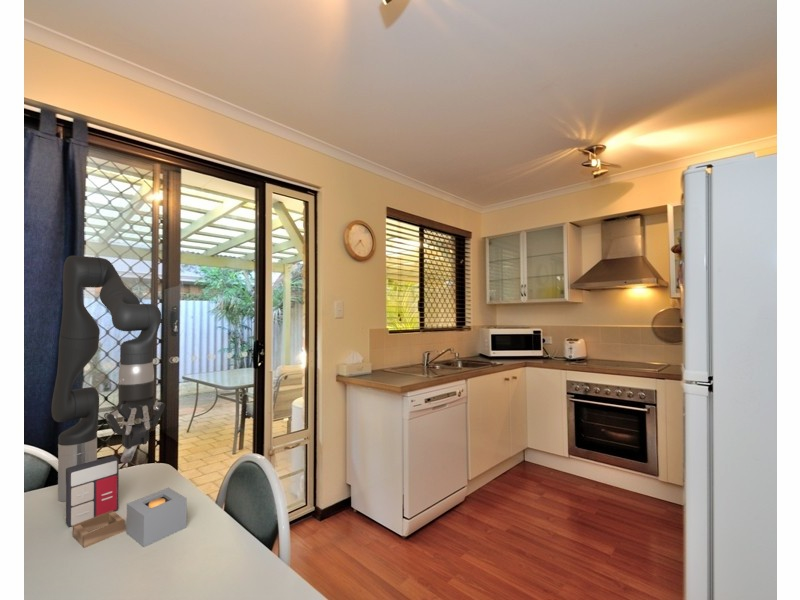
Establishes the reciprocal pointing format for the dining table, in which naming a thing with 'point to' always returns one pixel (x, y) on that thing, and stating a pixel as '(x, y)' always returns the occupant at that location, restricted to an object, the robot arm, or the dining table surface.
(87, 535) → the wooden square frame
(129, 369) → the robot arm
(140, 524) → the guard box
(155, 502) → the button
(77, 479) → the calculator
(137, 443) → the stylus
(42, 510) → the dining table surface
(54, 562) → the dining table surface
